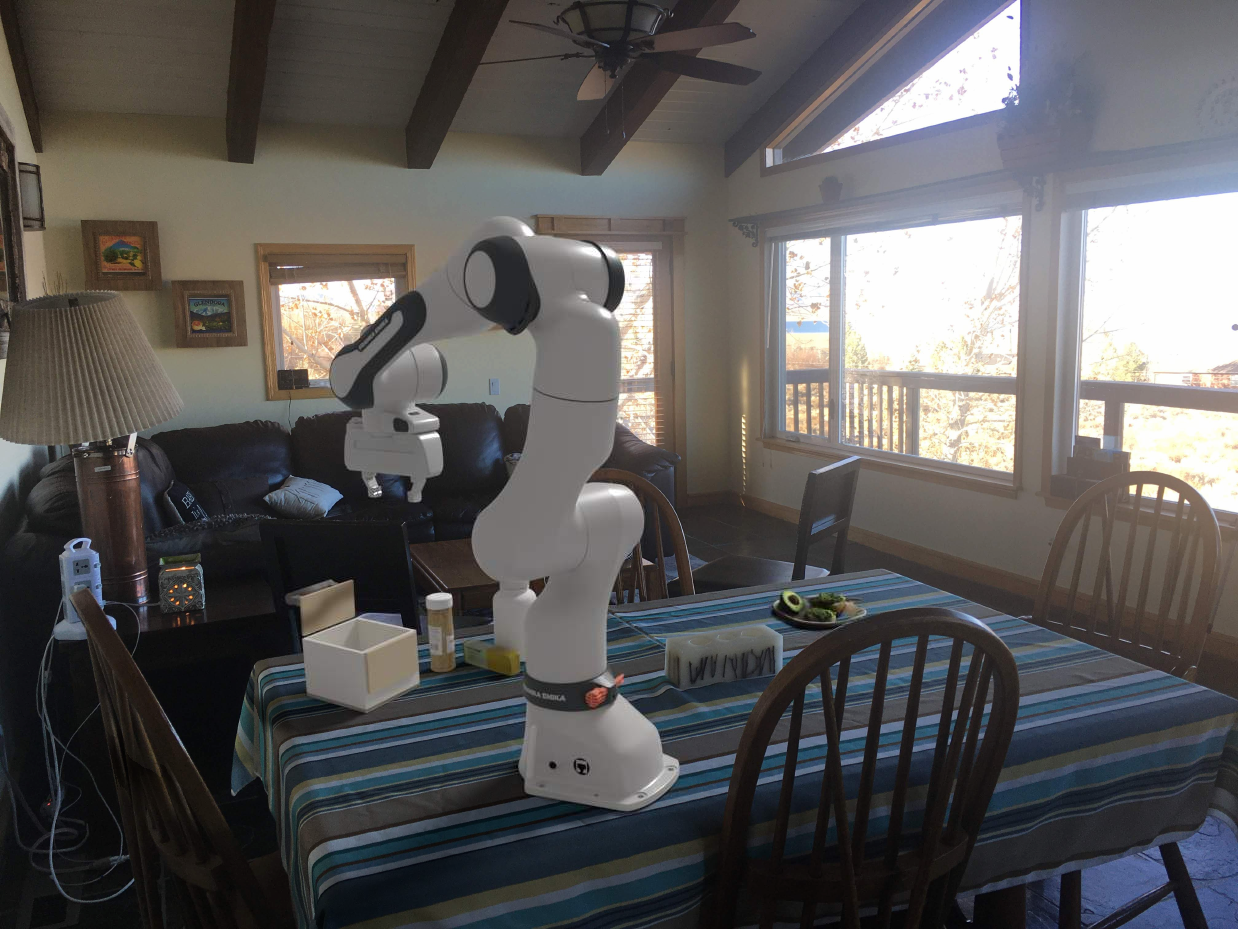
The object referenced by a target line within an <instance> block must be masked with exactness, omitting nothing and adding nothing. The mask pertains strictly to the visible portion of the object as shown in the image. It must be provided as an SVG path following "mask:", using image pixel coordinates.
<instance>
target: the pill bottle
mask: <svg viewBox="0 0 1238 929" xmlns="http://www.w3.org/2000/svg"><path fill="white" fill-rule="evenodd" d="M536 598H537V596H536V593H535V592H534V591H533V589H531V588H530V581H499V590H498V591H497V592H496V593H495V594H494V596H493V597H492V612H493V637H494V638H493V640H494V643H493V644H494V645H496V646H499V647H503V648H506V649H510V650H513V651H517V652H519V657H520V663H524V662H525V663H526V657H525V635H524V619H525V615H526V612H527V610H528V608H529V607H530V605H531V604H532V603H533V602H534V600H535V599H536Z"/></svg>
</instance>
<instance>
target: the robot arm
mask: <svg viewBox="0 0 1238 929" xmlns="http://www.w3.org/2000/svg"><path fill="white" fill-rule="evenodd" d="M624 269H625V268H624V264H623V263H622V261H621V258H620V257H619V255H618V253H616V251H614V250H613V249H612V248H611V247H609V246H607V245H605V244H602V243H600V242H597V241H593V240H590V239H589V240H588V239H582V240H576V239H571V238H562V237H554V236H551V235H542V234H541V235H537V234H535V232H534V231H533V229H532V228H531V227H530V226H528V225H527V224H526V223H525V222H523V221H521V220H520V219H518V218H515V217H512V216H508V215H500V216H499V215H498V216H494V217H491V218H488V219H487V220H486V221H484V222H483V223H481V224H480V225H479V226H478V227H476V228H475V229H474V230H473V231H472V232H471V233H470V234H469V235H468V236H467V237H466V238H465V239H464V240H463V241H462V242H461V243H460V244H459V245H458V247H457V248H456V249H455V250H454V252H453V253H452V254H451V256H450V257H449V258H448V259H447V260H446V262H445V263H444V264H443V265H442V266H441V267H440V268H439V269H438V270H437V271H435V273H434V274H432V275H431V276H429V278H427V279H426V280H424V281H423V282H422V283H420V284H419V285H418V286H416V287H415V288H413V289H412V290H410V291H408V292H406V293H405V294H404V295H402V296H401V297H399V298H398V299H397V300H395V301H394V302H393V303H391V305H390V306H389V307H388V308H386V309H385V310H384V312H383V313H382V314H381V315H380V316H378V318H377V319H376V320H375V321H374V322H373V323H370V324H367V325H365V326H364V327H362V329H360V332H359V337H358V338H357V339H356V340H354V342H352V343H348V344H345V345H343V347H341V349H339V351H337V353H336V354H335V356H334V357H333V359H332V360H331V363H330V365H329V370H328V372H329V373H328V380H329V386H330V388H331V392H332V394H333V395H334V396H335V397H336V399H337V400H339V401H340V402H341V403H342V404H344V405H345V406H346V407H347V408H349V409H351V410H352V411H354V412H358V411H361V417H357V416H355V417H352V418H351V419H350V420H348V422H347V424H346V433H345V436H344V452H343V453H344V464H345V466H346V468H347V469H348V470H349V471H355V472H356V471H357V472H361V478H362V480H363V481H364V484H365V486H366V487H367V493H368V494H367V496H368V497H370V498H379V497H381V496H382V495H383V493H382V485H378V482H377V479H376V477H375V476H377V474H385V475H397V476H404V477H405V476H406V477H410V482H411V483H413V484H412V487H411V490H409V491H407V492H406V493H407V501H408V502H410V503H419V502H421V501H422V491H423V488H424V486H425V484H426V482H427V479H428V478H432V477H436V476H437V477H438V476H440V475H441V473H442V471H443V469H444V468H443V467H444V456H443V453H444V452H443V446H442V440H441V437H440V435H439V433H438V432H437V430H439V428H440V418H438V417H437V416H436V415H434V414H432V413H429V412H427V411H425V410H423V409H422V408H420V407H419V406H416V403H425V402H430V401H433V400H436V399H438V398H439V397H440V396H441V395H442V393H443V392H444V391H445V388H446V386H447V383H448V378H449V371H448V370H449V368H448V364H447V360H446V357H445V356H444V354H443V353H442V351H440V349H438V348H437V347H436V346H435V345H434V344H432V343H431V342H438V341H443V340H452V339H458V338H466V337H472V336H477V335H481V334H483V333H485V332H487V331H489V330H491V329H492V328H493V327H495V326H497V325H498V326H501V328H503V329H504V331H505V332H506V333H507V334H509V335H511V336H514V337H515V336H517V335H521V334H522V333H523V332H524V331H525V330H527V331H528V332H529V334H530V335H531V337H532V338H533V340H534V343H535V350H536V353H535V364H534V370H533V371H534V372H533V379H532V380H533V381H532V392H531V400H530V411H529V416H528V417H529V418H528V424H527V432H526V436H525V437H526V438H525V442H524V445H523V446H524V447H523V450H522V452H521V455H520V458H519V459H518V462H517V464H516V465H515V468H514V470H513V472H512V473H511V476H510V477H509V479H508V481H507V482H506V485H505V486H504V488H503V489H502V490H501V492H500V493H499V494H498V495H497V496H496V497H495V499H493V501H492V502H491V503H490V504H489V505H487V506H486V507H485V508H484V509H483V510H482V511H481V512H480V513H479V514H478V515H477V517H476V520H474V524H473V528H472V533H471V548H472V552H473V555H474V558H475V560H476V562H477V565H478V566H479V567H480V569H481V570H482V571H483V572H484V573H485V574H486V575H487V576H489V577H490V578H491V579H492V580H495V581H498V582H500V581H529V582H530V581H535V580H539V579H542V578H546V577H549V578H548V580H547V582H546V585H545V586H544V588H543V590H542V591H541V593H540V594H539V595H538V596H536V599H535V600H534V602H533V603H532V604H531V605H530V607H529V608H528V610H527V612H526V615H525V619H524V635H525V657H526V661H525V667H524V669H523V672H522V673H523V674H522V676H523V677H522V684H523V697H524V699H526V710H525V711H526V714H525V729H524V737H523V743H522V749H521V754H520V757H519V760H518V764H517V765H518V771H519V773H520V775H521V777H522V778H523V779H524V787H523V788H524V792H525V793H526V794H528V795H531V796H538V797H542V798H543V797H544V798H548V799H554V800H559V801H560V800H561V801H565V802H571V803H575V804H576V803H577V804H583V805H586V806H587V805H588V806H594V807H597V808H604V809H605V808H606V809H610V810H616V811H623V812H631V811H634V810H638V809H640V808H643V807H646V806H648V805H650V804H652V803H653V802H655V801H657V799H659V798H660V797H662V796H663V795H664V794H665V793H667V792H668V790H670V789H671V788H672V786H673V785H674V784H675V783H676V781H677V780H678V778H679V776H680V769H681V768H680V762H679V760H678V759H677V758H674V757H672V756H671V755H668V754H666V753H663V747H662V740H661V737H660V733H659V731H658V729H657V727H656V726H655V725H654V724H653V723H652V722H651V721H650V720H648V719H647V718H646V717H645V716H644V715H643V714H642V713H641V712H640V711H639V710H637V709H636V708H635V706H633V705H632V704H631V703H630V702H629V701H628V700H627V699H626V698H625V697H623V696H622V694H620V692H619V691H620V690H619V686H620V685H622V684H623V683H624V682H625V680H624V679H623V678H624V676H625V674H624V673H621V674H620V675H618V676H616V678H615V677H614V673H613V671H612V669H611V667H610V666H611V665H610V664H609V663H608V662H607V622H608V620H607V619H608V609H609V603H610V600H611V596H612V593H613V590H614V587H615V586H614V585H615V583H616V580H617V578H618V577H617V576H618V575H619V573H620V570H621V567H622V566H623V564H624V562H625V560H626V559H627V557H628V556H629V554H630V553H631V551H632V550H633V549H634V548H635V547H636V546H637V544H638V543H639V542H640V540H641V538H642V536H643V532H644V529H645V527H644V526H645V515H644V511H643V508H642V504H641V502H640V501H639V499H638V497H637V496H636V494H635V492H634V491H632V490H631V489H630V488H629V487H627V486H626V485H623V484H621V483H620V484H619V483H610V482H609V483H608V482H588V481H589V479H590V478H591V476H592V475H593V474H594V473H595V472H596V471H597V470H598V469H599V468H601V467H602V465H604V464H605V462H606V461H607V460H608V458H610V455H611V453H612V451H613V449H614V442H615V434H616V433H615V432H616V425H617V417H618V410H619V403H620V402H619V400H620V392H621V391H620V390H621V383H622V382H621V380H622V338H621V327H620V324H619V321H618V320H617V317H616V315H614V314H613V313H614V312H615V311H616V309H618V307H619V305H620V303H621V302H622V300H623V297H624V293H625V288H626V274H625V270H624ZM587 482H588V483H587Z"/></svg>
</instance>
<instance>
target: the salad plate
mask: <svg viewBox="0 0 1238 929" xmlns="http://www.w3.org/2000/svg"><path fill="white" fill-rule="evenodd" d="M771 600H773V601H774V602H773V604H772V609H773V611H774V612H775V614H776V615H777V616H778V617H779V618H780V619H782V620H783V621H785V622H787V623H788V624H791V625H792V626H793V625H794V626H796V627H799V628H804V629H814V630H821V629H830V628H831V629H832V628H835V627H841V626H843V625H842V624H845V623H847V622H849V621H851V620H855V619H857V618H859V617H863V616H865V617H866V616H867V613H868V611H867V610H866V609H865V608H863V607H860V606H859V605H856V603H859V602H862V601H863V598H862V597H852V596H851V597H846V596H844V593H842V592H841V593H840V594H839V595H838V594H836V593H835V592H831V593H830V592H826V593H825V592H821V591H820V592H819V594H811V595H807V596H800V595H799V594H798V593H796V592H795V591H793V590H790V589H785V590H783V591H782V592H781V593H780V596H774V597H772V598H771ZM840 615H846V616H849V618H848V619H845V620H840V621H839V620H838V621H836V620H837V618H836V616H840ZM840 625H841V626H840Z"/></svg>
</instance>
